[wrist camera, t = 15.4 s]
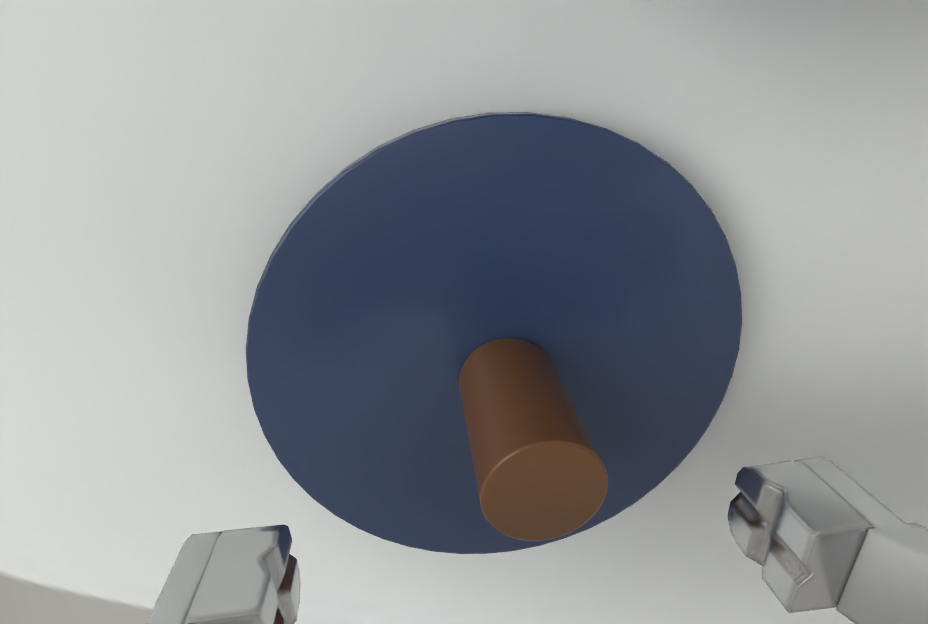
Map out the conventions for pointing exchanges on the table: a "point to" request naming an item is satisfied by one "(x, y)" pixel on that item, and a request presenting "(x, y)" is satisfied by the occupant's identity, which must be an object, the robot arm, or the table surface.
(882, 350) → the table surface
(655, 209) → the tin lid
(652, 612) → the table surface
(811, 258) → the table surface
